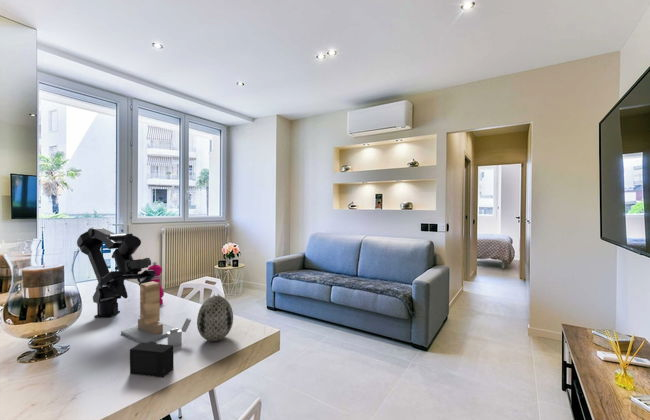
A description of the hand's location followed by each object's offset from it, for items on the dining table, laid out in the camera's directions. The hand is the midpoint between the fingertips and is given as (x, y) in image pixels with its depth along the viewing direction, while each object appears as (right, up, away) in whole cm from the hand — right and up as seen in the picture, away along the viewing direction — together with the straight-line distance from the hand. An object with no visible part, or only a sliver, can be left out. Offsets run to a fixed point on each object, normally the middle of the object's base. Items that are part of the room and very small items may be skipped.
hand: (137, 296), depth 112 cm
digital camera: (+23, -12, -29) cm, 39 cm away
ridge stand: (+8, -12, -5) cm, 15 cm away
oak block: (+8, -8, -5) cm, 12 cm away
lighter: (+22, -12, -13) cm, 29 cm away
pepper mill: (-9, -12, +27) cm, 30 cm away
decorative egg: (+34, -12, -10) cm, 37 cm away
